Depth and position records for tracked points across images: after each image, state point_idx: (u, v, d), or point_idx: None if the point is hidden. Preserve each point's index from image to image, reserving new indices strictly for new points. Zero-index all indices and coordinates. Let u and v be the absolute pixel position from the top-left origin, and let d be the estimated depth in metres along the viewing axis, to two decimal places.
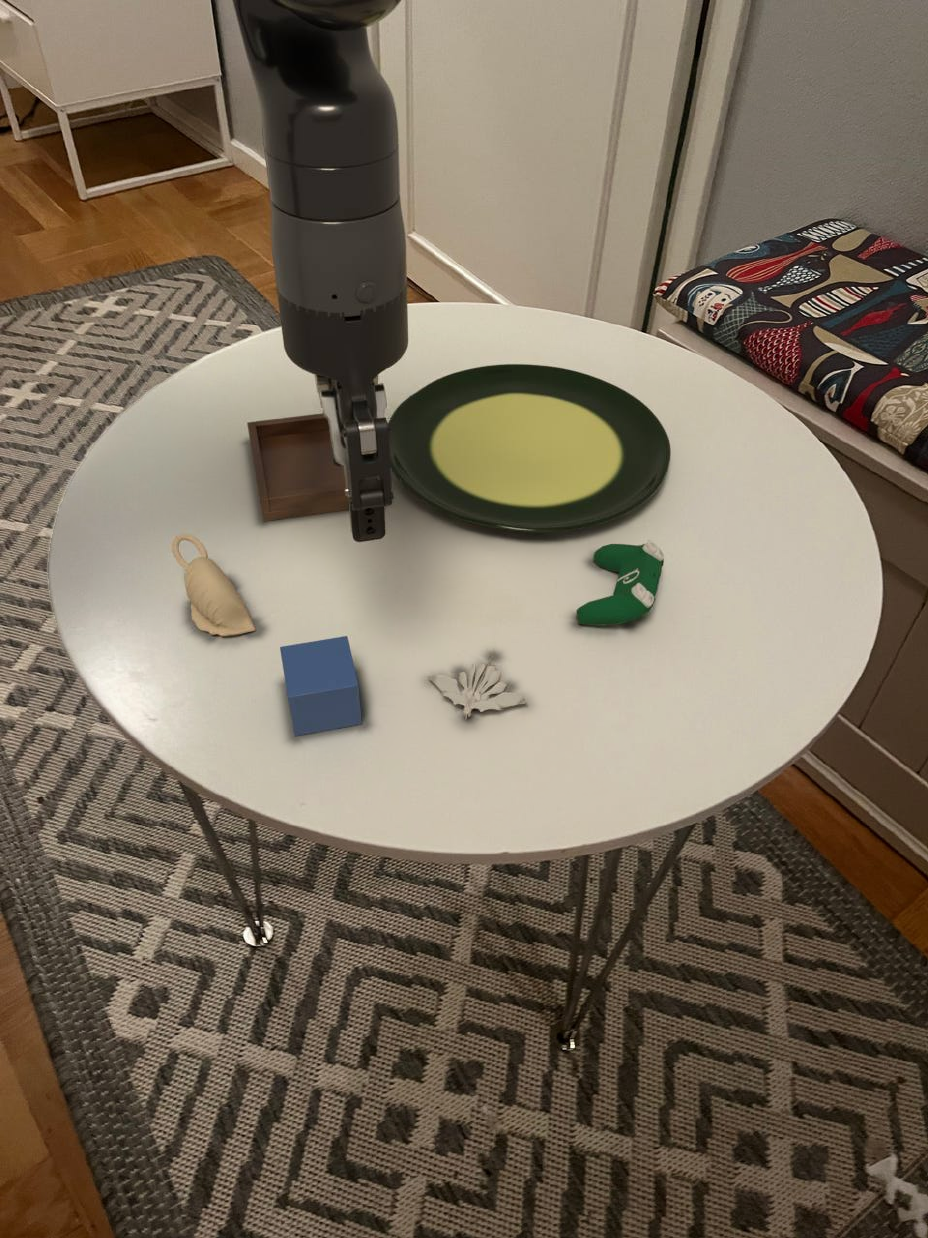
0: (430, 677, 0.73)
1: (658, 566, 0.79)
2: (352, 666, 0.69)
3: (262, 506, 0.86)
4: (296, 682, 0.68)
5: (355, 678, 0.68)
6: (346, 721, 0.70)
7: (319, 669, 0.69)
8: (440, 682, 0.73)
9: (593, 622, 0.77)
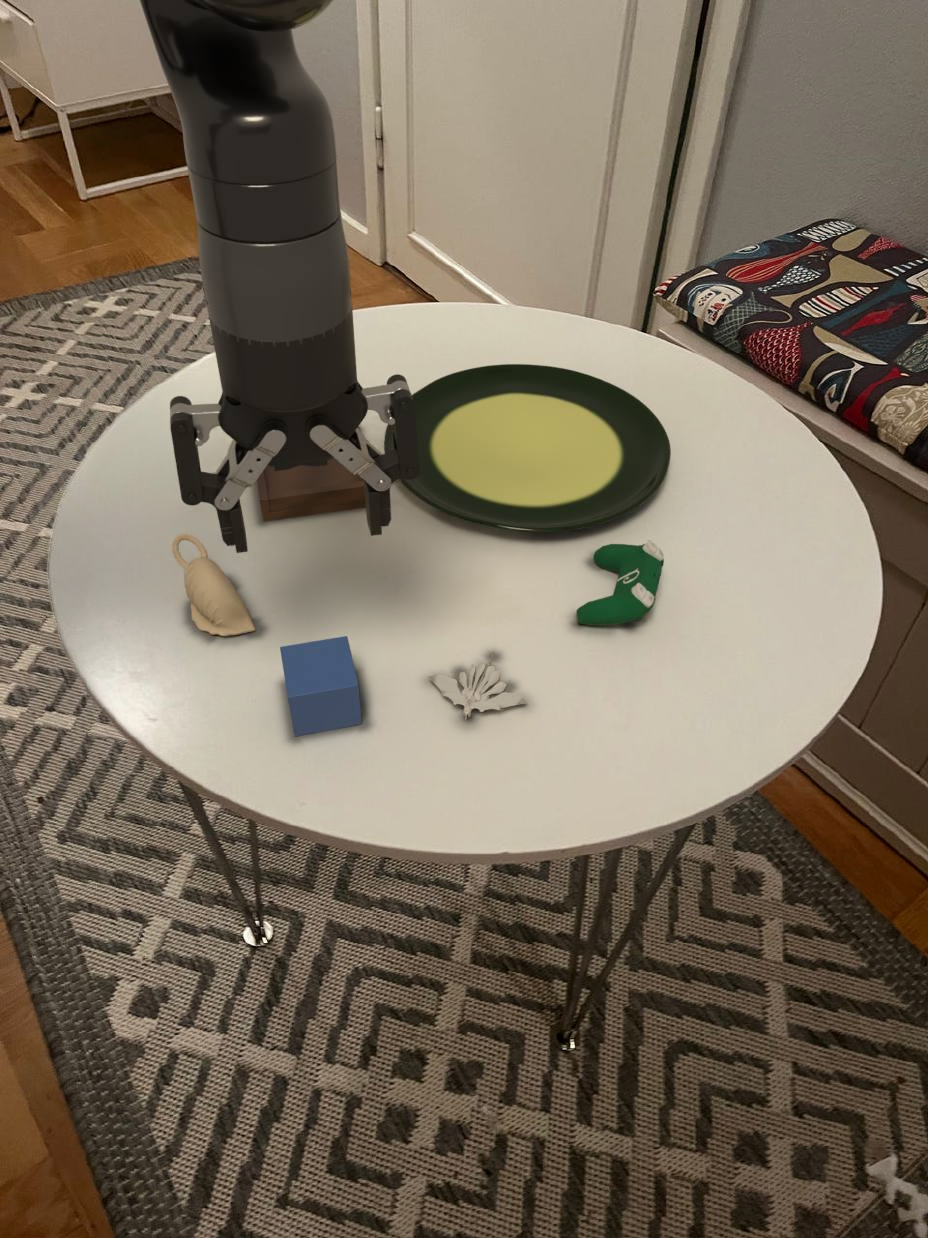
0: (430, 677, 0.73)
1: (658, 566, 0.79)
2: (352, 666, 0.69)
3: (262, 506, 0.86)
4: (296, 682, 0.68)
5: (355, 678, 0.68)
6: (346, 721, 0.70)
7: (319, 669, 0.69)
8: (440, 682, 0.73)
9: (593, 622, 0.77)
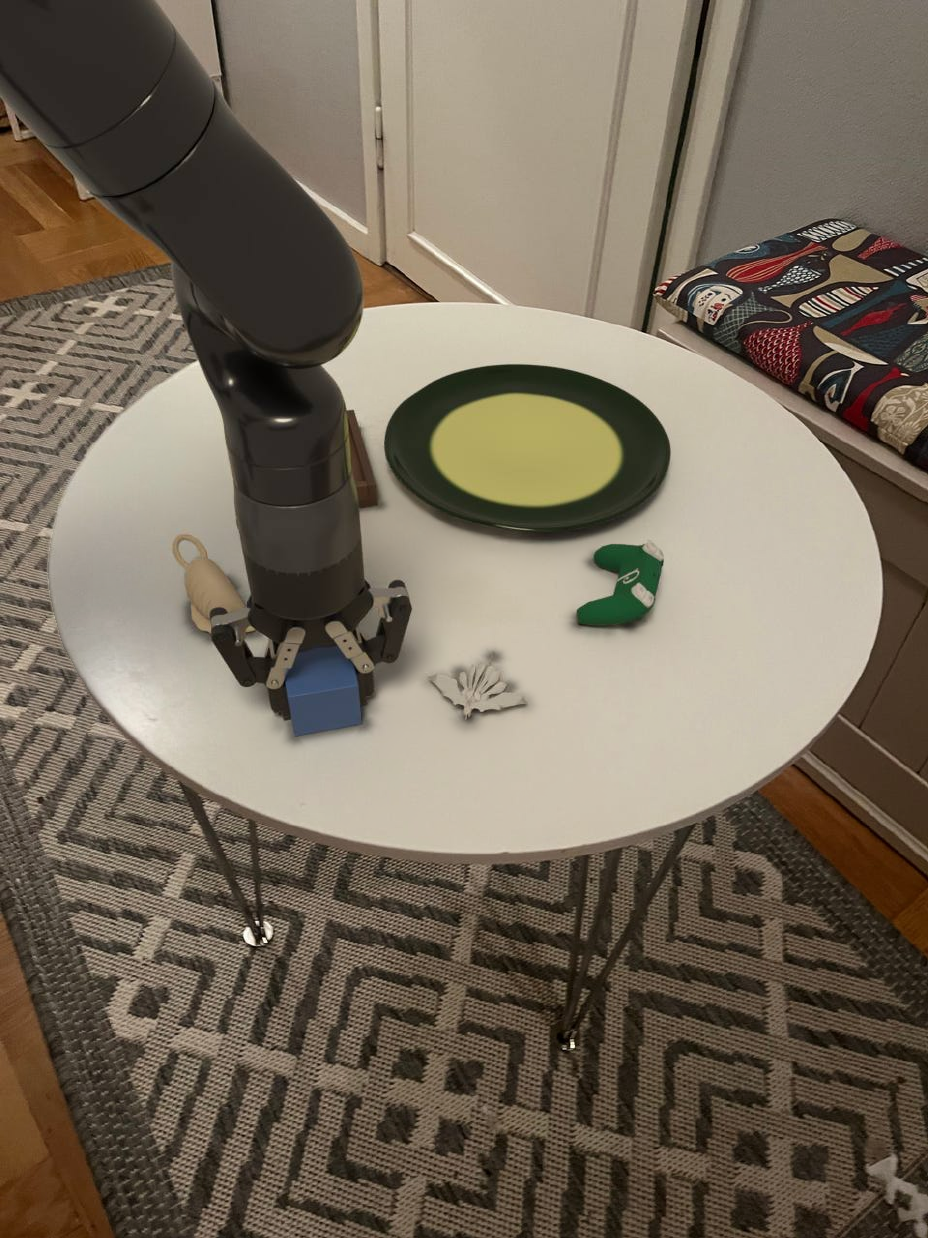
0: (430, 677, 0.73)
1: (658, 566, 0.79)
2: (352, 666, 0.69)
3: None
4: (296, 682, 0.68)
5: (355, 678, 0.68)
6: (346, 721, 0.70)
7: (319, 669, 0.69)
8: (440, 682, 0.73)
9: (593, 622, 0.77)
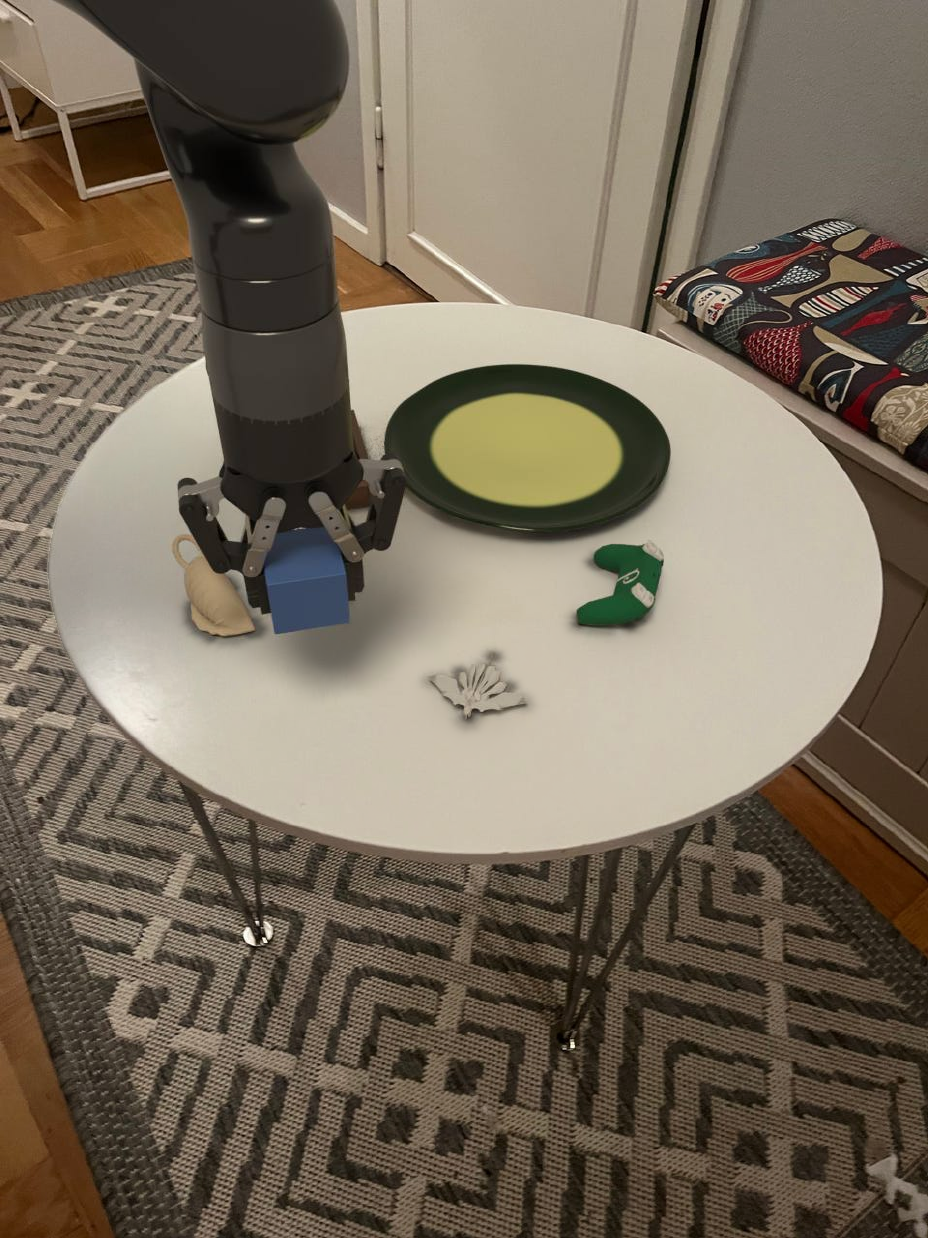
0: (430, 677, 0.73)
1: (658, 566, 0.79)
2: (339, 554, 0.61)
3: None
4: (276, 570, 0.60)
5: (343, 566, 0.61)
6: (333, 618, 0.63)
7: (303, 557, 0.61)
8: (440, 682, 0.73)
9: (593, 622, 0.77)
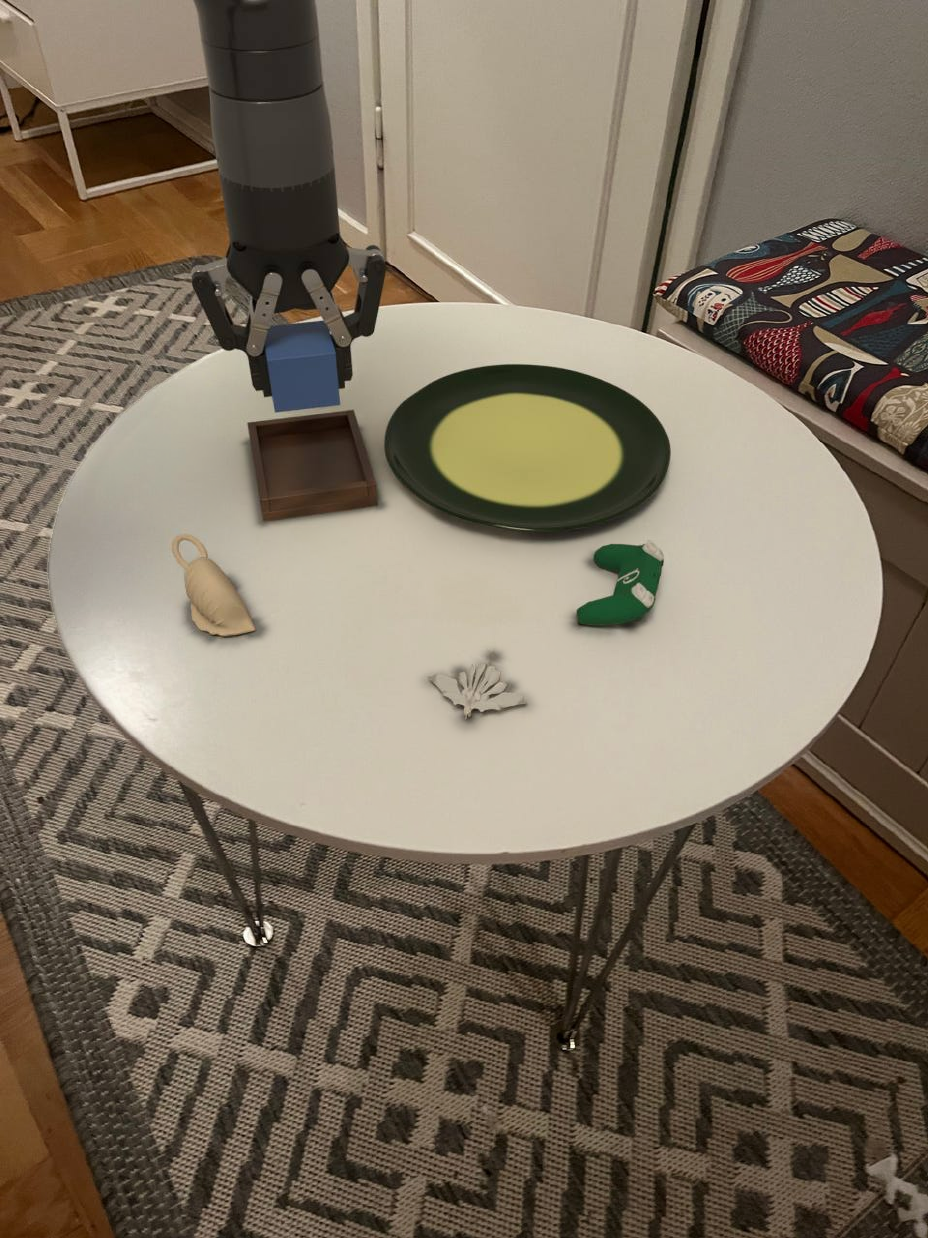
0: (430, 677, 0.73)
1: (658, 566, 0.79)
2: (330, 340, 0.71)
3: (262, 506, 0.86)
4: (276, 350, 0.70)
5: (333, 348, 0.70)
6: (325, 399, 0.72)
7: (299, 342, 0.71)
8: (440, 682, 0.73)
9: (593, 622, 0.77)
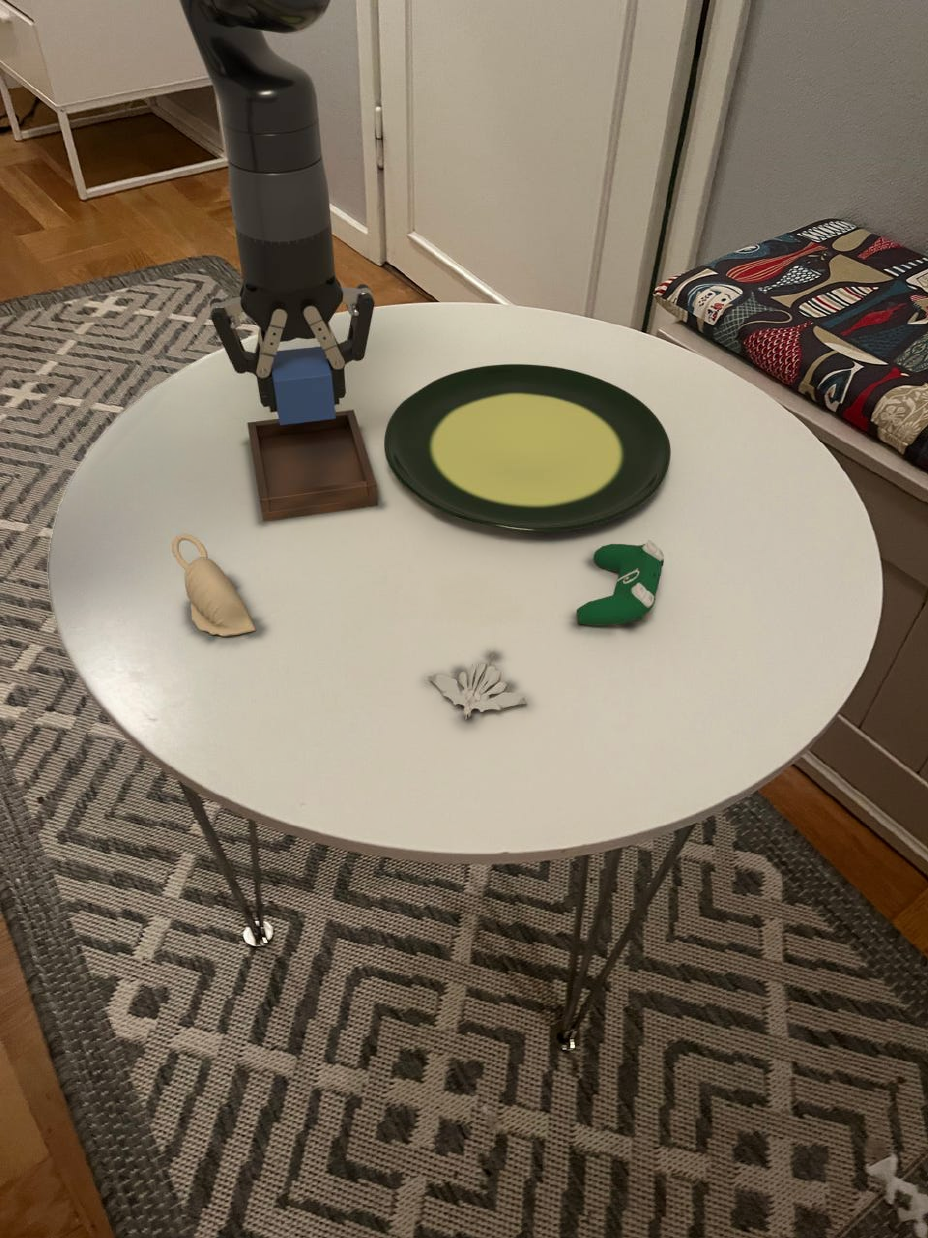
0: (430, 677, 0.73)
1: (658, 566, 0.79)
2: (327, 363, 0.84)
3: (262, 506, 0.86)
4: (281, 372, 0.83)
5: (329, 370, 0.83)
6: (323, 413, 0.85)
7: (300, 365, 0.83)
8: (440, 682, 0.73)
9: (593, 622, 0.77)
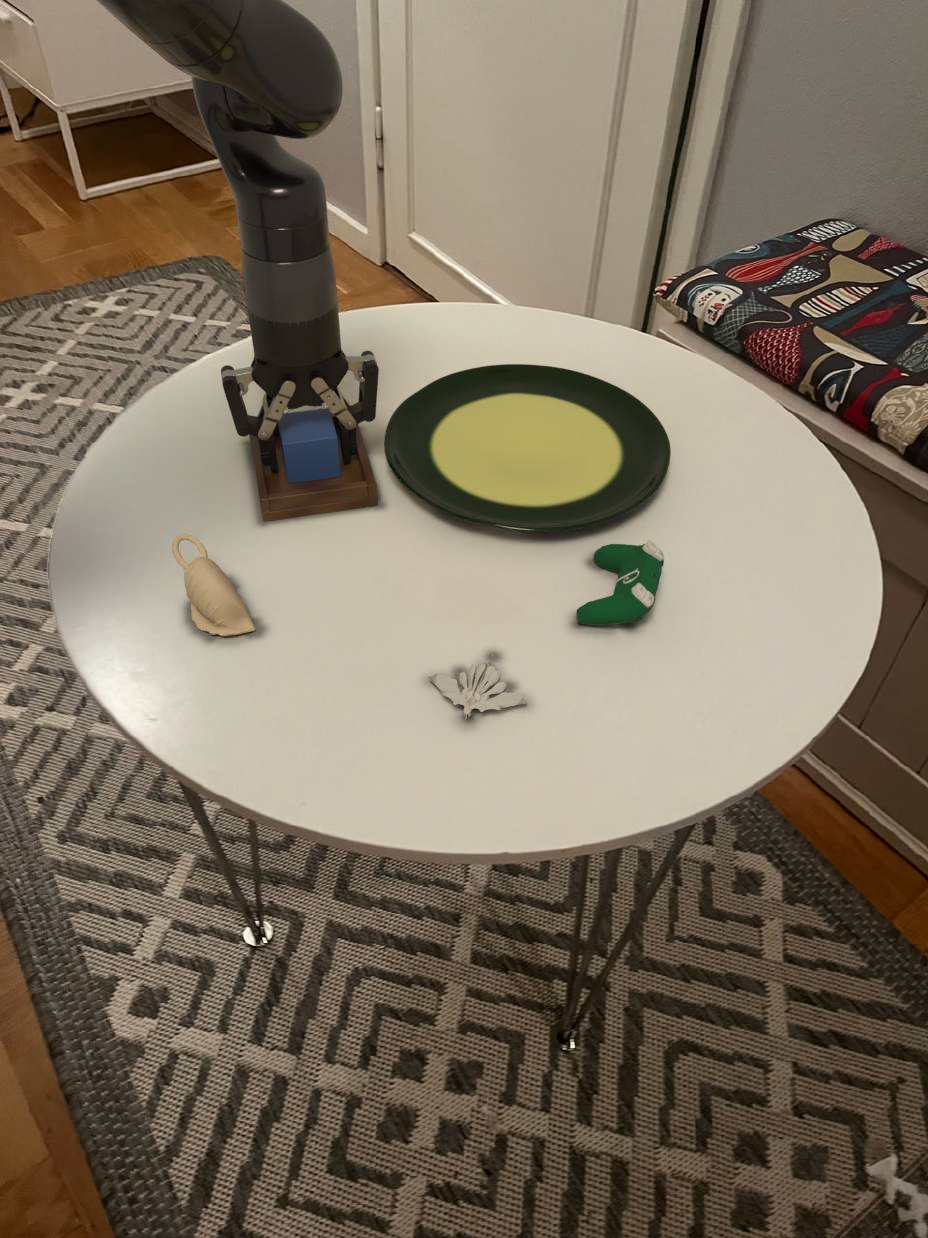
0: (430, 677, 0.73)
1: (658, 566, 0.79)
2: (333, 426, 0.88)
3: (262, 506, 0.86)
4: (289, 435, 0.87)
5: (335, 433, 0.88)
6: (329, 472, 0.90)
7: (307, 427, 0.88)
8: (440, 682, 0.73)
9: (593, 622, 0.77)
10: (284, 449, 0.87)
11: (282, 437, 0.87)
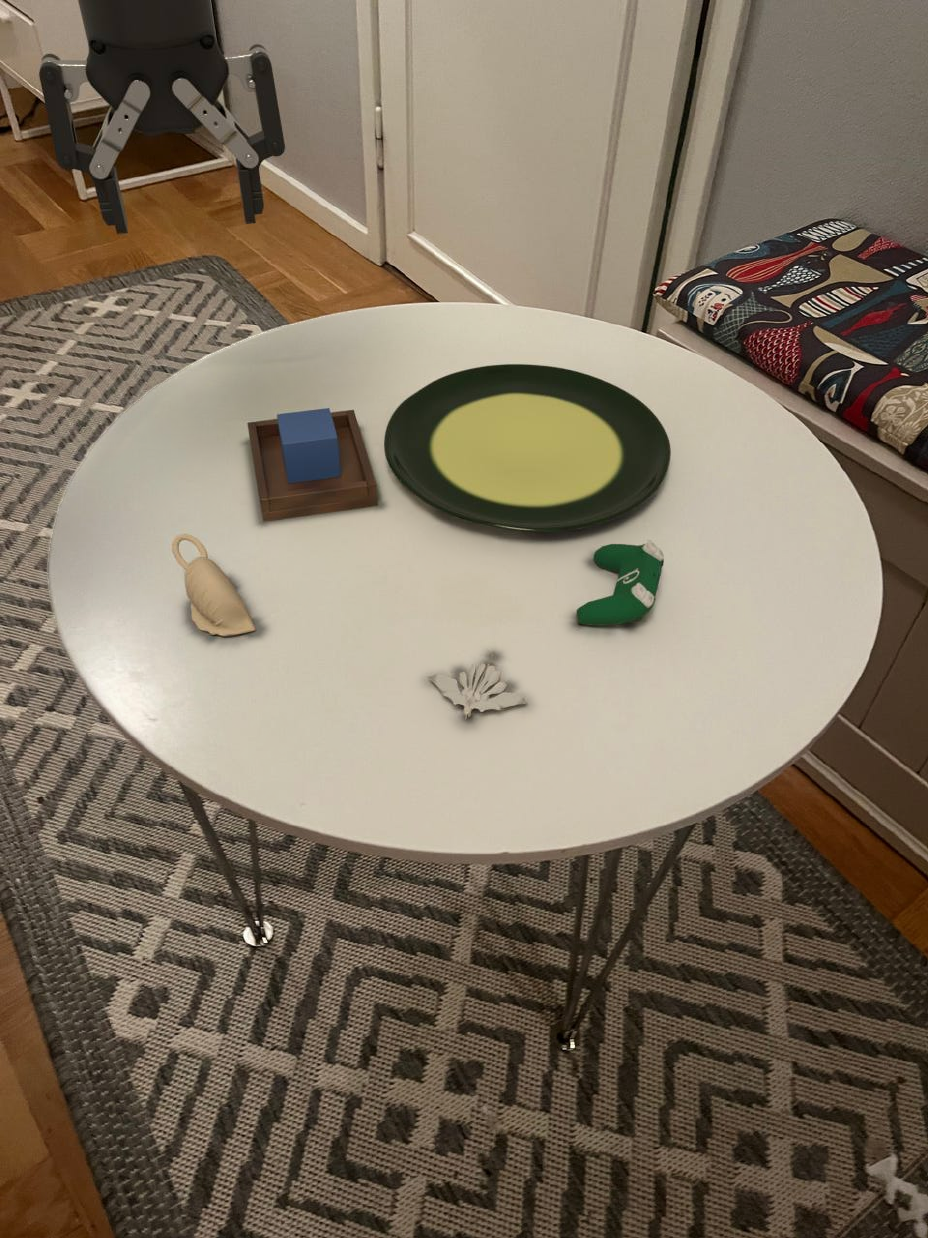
0: (430, 677, 0.73)
1: (658, 566, 0.79)
2: (333, 426, 0.88)
3: (262, 506, 0.86)
4: (289, 435, 0.87)
5: (335, 433, 0.88)
6: (329, 472, 0.90)
7: (307, 427, 0.88)
8: (440, 682, 0.73)
9: (593, 622, 0.77)
10: (284, 449, 0.87)
11: (282, 437, 0.87)
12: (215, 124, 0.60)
